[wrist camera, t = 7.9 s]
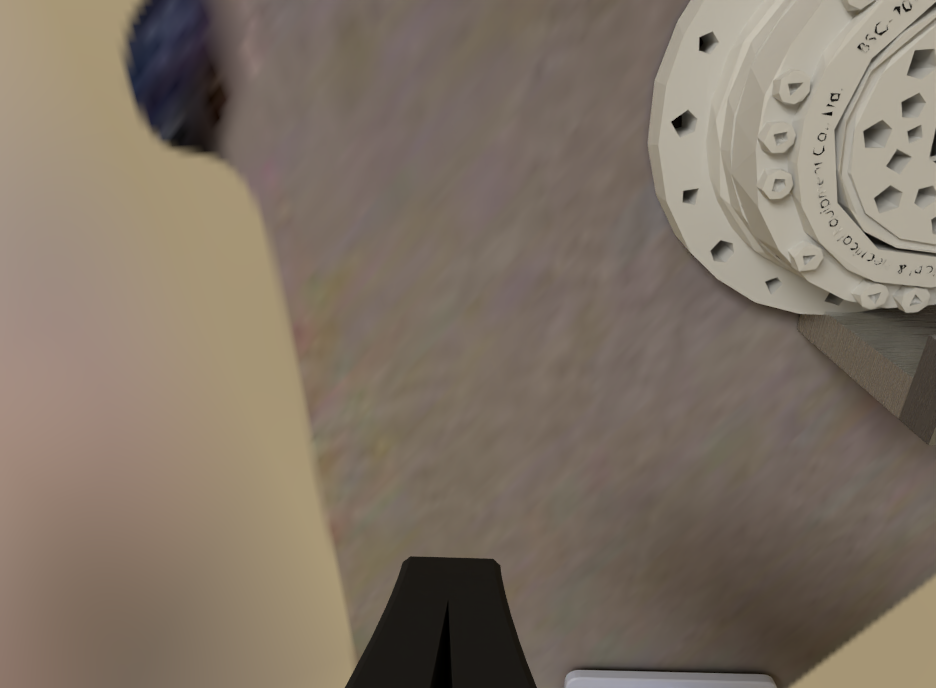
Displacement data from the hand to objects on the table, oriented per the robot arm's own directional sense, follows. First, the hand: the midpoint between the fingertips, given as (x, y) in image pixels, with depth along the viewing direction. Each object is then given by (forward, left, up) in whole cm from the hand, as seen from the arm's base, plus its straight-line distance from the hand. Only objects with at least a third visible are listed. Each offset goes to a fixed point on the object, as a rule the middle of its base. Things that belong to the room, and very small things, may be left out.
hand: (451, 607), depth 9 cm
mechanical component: (+6, -9, -10) cm, 15 cm away
